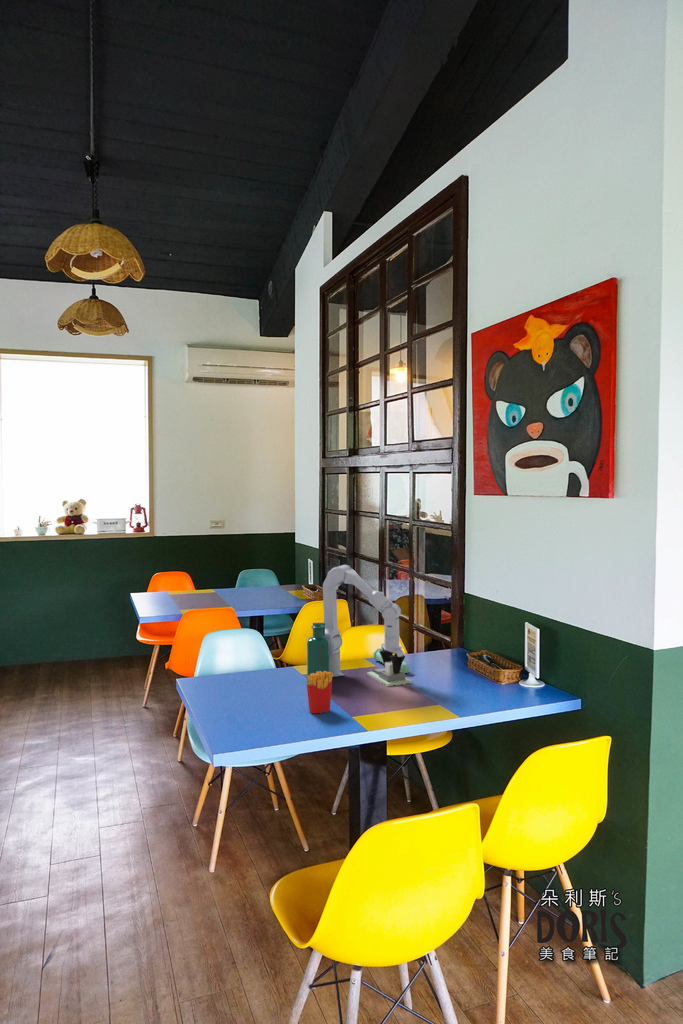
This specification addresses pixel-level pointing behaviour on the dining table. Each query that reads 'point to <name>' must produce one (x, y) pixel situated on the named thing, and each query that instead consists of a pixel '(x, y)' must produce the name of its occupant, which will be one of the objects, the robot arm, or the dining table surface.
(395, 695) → the dining table surface
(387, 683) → the outlet plate
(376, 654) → the container
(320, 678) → the french fries
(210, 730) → the dining table surface
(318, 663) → the green bottle
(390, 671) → the block
